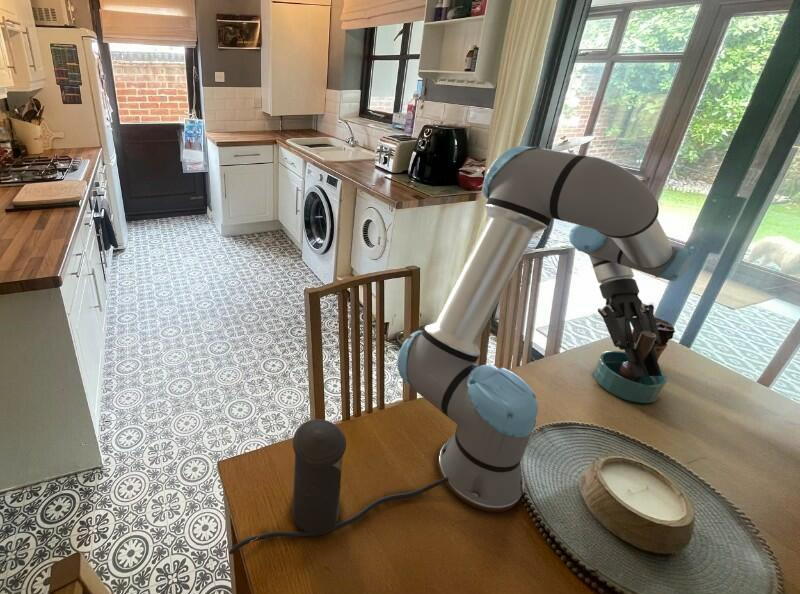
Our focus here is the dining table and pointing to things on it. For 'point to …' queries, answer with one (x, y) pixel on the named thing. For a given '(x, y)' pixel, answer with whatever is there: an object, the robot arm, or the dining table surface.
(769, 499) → the dining table surface
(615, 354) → the bowl
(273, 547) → the dining table surface
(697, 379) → the dining table surface
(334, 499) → the container
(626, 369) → the pestle
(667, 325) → the coffee cup
